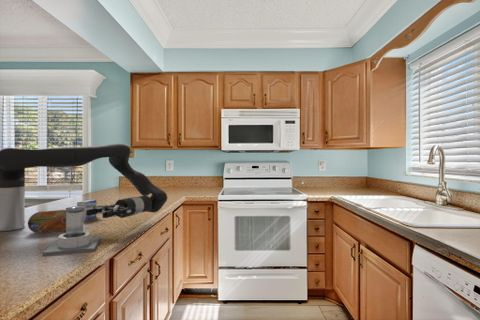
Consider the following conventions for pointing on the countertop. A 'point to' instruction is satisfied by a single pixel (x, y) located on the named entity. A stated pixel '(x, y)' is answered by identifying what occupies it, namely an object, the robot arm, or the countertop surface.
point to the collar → (72, 244)
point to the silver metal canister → (74, 221)
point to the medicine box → (87, 205)
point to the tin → (48, 221)
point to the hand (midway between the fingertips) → (95, 214)
